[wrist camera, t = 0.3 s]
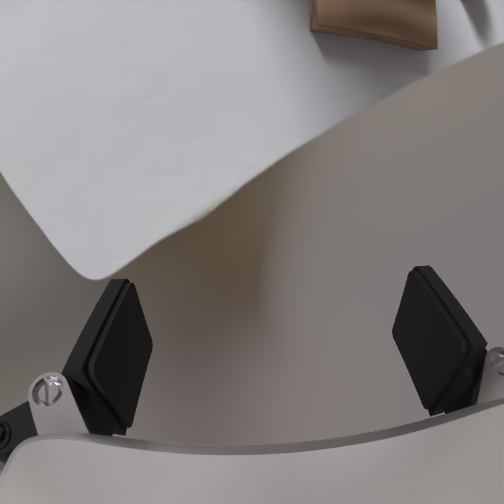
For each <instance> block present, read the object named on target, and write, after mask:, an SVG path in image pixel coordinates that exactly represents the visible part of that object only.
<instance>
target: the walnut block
mask: <svg viewBox="0 0 504 504" xmlns="http://www.w3.org/2000/svg"><path fill="white" fill-rule="evenodd" d="M310 31H313V32H323V33H332V34H339V35H346V36H353V37H359V38H365V39H370V40H375V41H380V42H385V43H390V44H394V45H399V46H403V47H407V48H411V49H414V50H418V51H423V50H433V49H437V17H436V2H435V0H310Z"/></svg>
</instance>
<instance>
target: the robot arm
mask: <svg viewBox="0 0 504 504" xmlns="http://www.w3.org/2000/svg"><path fill="white" fill-rule="evenodd" d="M392 334H393V338H394V340H395V342H396V345H397V347H398V349H399V351H400V353H401V355H402V358H403V360H404V362H405V365H406V367H407V369H408V371H409V374H410V376H411V378H412V381H413V383H414V385H415V388H416V390H417V392H418V395H419V397H420V400H421V402H422V405H423V407H424V408H425V409H428V411H429V414H430V416H433V415H437V414H440V413H443V412H445V414H444V415H440V416H437V417H433V418H429V419H426V420H422V421H418V422H414V423H410V424H406V425H402V426H398V427H393V428H389V429H384V430H379V431H375V432H369V433H363V434H358V435H353V436H345V437H339V438H332V439H324V440H315V441H306V442H295V443H282V444H264V445H198V444H197V445H195V444H180V443H167V442H156V441H146V440H136V439H127V438H120V437H114V436H112V435H113V434H118V435H125V434H126V430H127V427H128V428H130V427H131V426H132V423H133V419H134V415H135V411H136V407H137V403H138V399H139V395H140V392H141V388H142V384H143V380H144V377H145V373H146V369H147V366H148V362H149V359H150V355H151V352H152V346H153V344H152V338H151V335H150V332H149V329H148V327H147V323H146V320H145V317H144V314H143V311H142V308H141V304H140V301H139V298H138V294H137V291H136V288H135V285H134V283H130V281H129V280H128V279H111V281H110V282H109V284H108V285H107V287H106V289H105V291H104V292H103V294H102V296H101V298H100V299H99V301H98V303H97V305H96V306H95V308H94V310H93V312H92V314H91V316H90V318H89V319H88V321H87V323H86V325H85V327H84V329H83V331H82V333H81V334H80V336H79V338H78V340H77V342H76V344H75V346H74V348H73V350H72V352H71V354H70V356H69V358H68V360H67V362H66V365H65V367H64V369H63V371H62V373H61V374H59V373H56V372H49V373H45V374H42V375H41V376H39V377H38V378H36V379H35V380H34V381H33V383H32V384H31V386H30V388H29V392H28V399H29V401H27V402H25V403H23V404H22V405H20V406H18V407H16V408H14V409H12V410H11V411H9V412H7V413H5V414H3V415H2V416H0V504H504V348H502V347H494V348H491V349H490V350H489V351H487V350H486V348H485V347H486V345H487V342H486V340H485V339H484V337H483V336H482V334H481V333H480V331H479V330H478V329H477V327H476V326H475V324H474V323H473V321H472V320H471V318H470V317H469V316H468V314H467V313H466V312H465V310H464V309H463V308H462V306H461V305H460V303H459V302H458V301H457V299H456V298H455V297H454V295H453V294H452V293H451V291H450V290H449V289H448V287H447V286H446V285H445V284H444V282H443V281H442V280H441V279H440V277H439V276H438V275H437V274H436V272H435V271H434V270H433V269H432V267H430V266H416V267H414V268H413V270H412V271H410V272H409V274H408V277H407V281H406V285H405V288H404V292H403V296H402V299H401V302H400V306H399V309H398V313H397V316H396V319H395V322H394V325H393V329H392Z"/></svg>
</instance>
